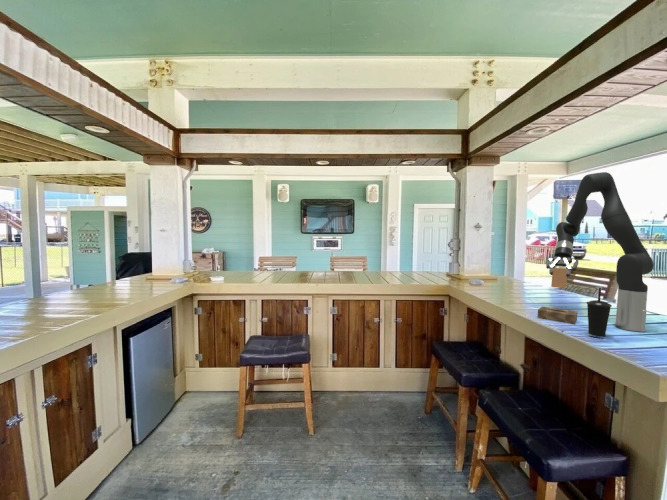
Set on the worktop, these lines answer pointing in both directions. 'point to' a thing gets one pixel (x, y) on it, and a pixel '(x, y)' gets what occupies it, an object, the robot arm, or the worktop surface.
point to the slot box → (557, 315)
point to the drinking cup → (598, 316)
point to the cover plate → (559, 278)
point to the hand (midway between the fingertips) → (559, 274)
